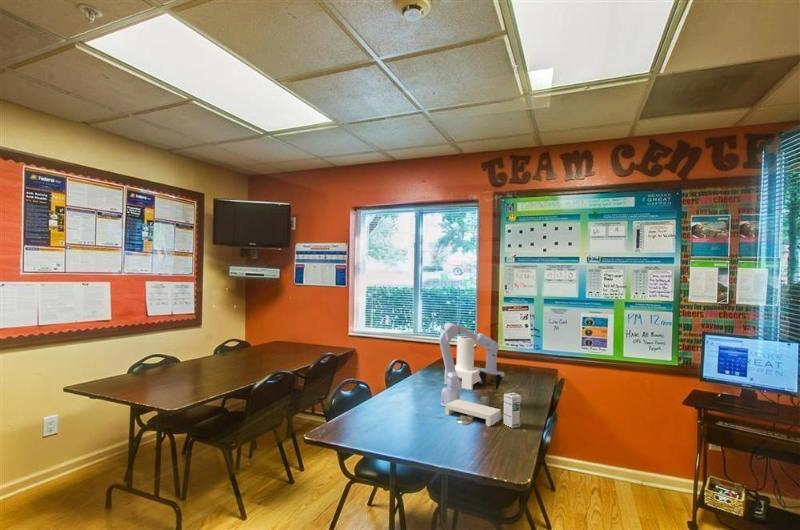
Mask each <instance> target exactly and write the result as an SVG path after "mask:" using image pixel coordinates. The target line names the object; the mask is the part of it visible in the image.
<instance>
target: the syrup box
mask: <svg viewBox="0 0 800 530" xmlns="http://www.w3.org/2000/svg"><path fill="white" fill-rule="evenodd" d="M504 424H505V426H506V425H507V427H508V426H509V427H508V428H510V427H511V428H510V429H513V428H518V427H519V428H520V427H521V426H522V425H521V424H522V395H521V394H518V393H516V392H509V393H504V394H503V425H504Z"/></svg>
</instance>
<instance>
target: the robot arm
mask: <svg viewBox="0 0 800 530" xmlns="http://www.w3.org/2000/svg"><path fill="white" fill-rule="evenodd" d="M457 335H459V336H461V335H463V336H468V337H470V338H472V339H474V344H476V345H479V346H481V348H482V347H483V348H484V349H486V350H485V351H486V353H485V354H486V355H485V368H484V367H483V368H484V369H483V368H482V367H478V372H480V373H479V376H480V378H481V381H482V383H481V384H482V387H486V383H487V374H489V375H494V379H495V390H498V389H499V387H500V384H501V381H502V380H503V378H504V377H505V372H504V371H500V370H497V365H498V364H497V363H498V360H497V359H498V351H499V349H500V346H499V343H498V342H497V341H496V340H493V339H492V338H491V337H488V336H486V335H485V334H484V333H482V332H481V333H474V332H473V331H471V330H470V329H467V328H466V327H464V326H463V325H462V326H461V325H459V324H456V323H452V322H450V321H448V322H445V323H444V324H443V325H442V327H441V329H440V334H439V338H438V342H439V347H440V351H441V355H442V360H443V363H444V368H445V369H446V374H445V373H444V376H445V375H446V379H445V378H444V383H445V382H446V384H447V385H446V386H445V387H443V388H442V389H441V393H440V404H439V405H440V406H442V407H446V404H447V403H450V402H452V401H454V400H457V399H459V400H461V399H460V397H461V395H460V394H461V389H462V380H461V379H459V378H458V375H457V373H456V370H455V366H454V365H455V362H454V358H453V354H452V349H451V345H450V343H451V340H452V339H454V338H455V337H456V336H457ZM445 369H444V370H445Z"/></svg>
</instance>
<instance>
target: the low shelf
mask: <svg viewBox="0 0 800 530" xmlns="http://www.w3.org/2000/svg"><path fill="white" fill-rule="evenodd" d="M444 407H445V406H444ZM444 411H445V415H446V414H447V415H446V416H450V414H451V415H453V414H455V413H456V412H458V413H462V414H466V415H467V416H468V415H472V416H475V417H476V418H479V419H484V420H485V426H486V425H487V426H486V427H489V426H490V427H492V426H493V425H495V424H497V423H498V422H500V421H501V417H502V416H501V415H502V414H501V413H502V409H501V408H497V407H496V408H495V407H491V406H484V405H481V403H480V404H478V403H475V402H471V401H467V400H462V399H460V400H459V399H457V400H454V401H452V402H450V403H447V404H446V407H445V410H444ZM454 412H455V413H454ZM452 413H453V414H452ZM499 420H500V421H499ZM496 422H497V423H496ZM491 425H492V426H491Z"/></svg>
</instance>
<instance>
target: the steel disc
mask: <svg viewBox="0 0 800 530" xmlns="http://www.w3.org/2000/svg"><path fill="white" fill-rule="evenodd" d="M456 422H457V423H456V424H457V425H460V424H462V426H468V425H470V422H469V420H468V419H464V418H460V417H459V418H457V419H456ZM467 424H468V425H467Z"/></svg>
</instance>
